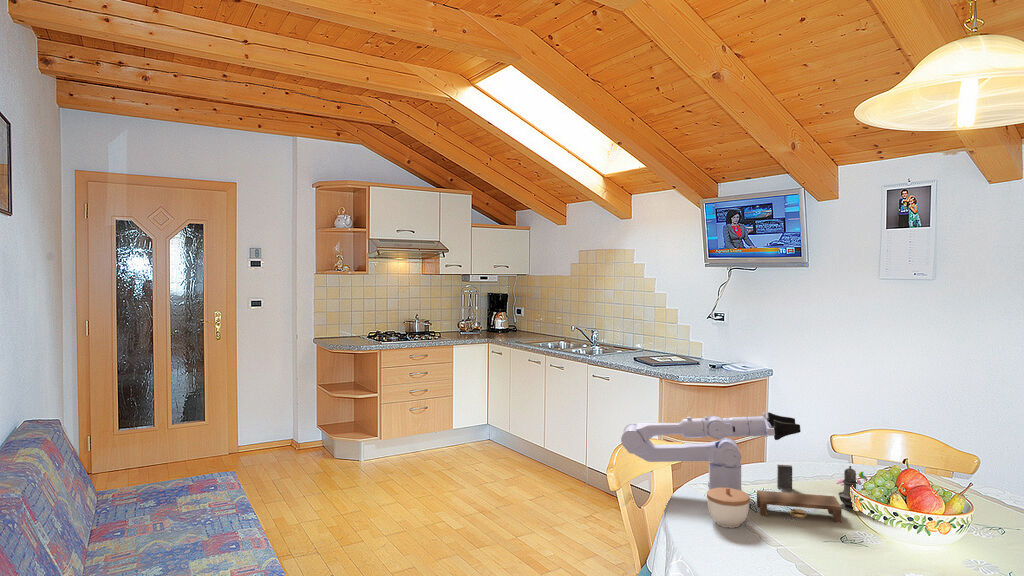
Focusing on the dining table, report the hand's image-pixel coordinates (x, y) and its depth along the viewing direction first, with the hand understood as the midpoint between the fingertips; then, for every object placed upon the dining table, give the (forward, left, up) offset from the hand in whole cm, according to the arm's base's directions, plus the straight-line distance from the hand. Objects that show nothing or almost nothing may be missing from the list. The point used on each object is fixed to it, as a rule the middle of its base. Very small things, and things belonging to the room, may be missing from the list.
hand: (797, 425), depth 180 cm
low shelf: (-2, -12, -22) cm, 25 cm away
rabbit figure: (+19, +12, -22) cm, 31 cm away
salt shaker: (+13, -4, -22) cm, 26 cm away
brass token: (-2, -13, -22) cm, 26 cm away
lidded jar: (-21, -23, -22) cm, 38 cm away
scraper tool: (-2, +2, -22) cm, 22 cm away
